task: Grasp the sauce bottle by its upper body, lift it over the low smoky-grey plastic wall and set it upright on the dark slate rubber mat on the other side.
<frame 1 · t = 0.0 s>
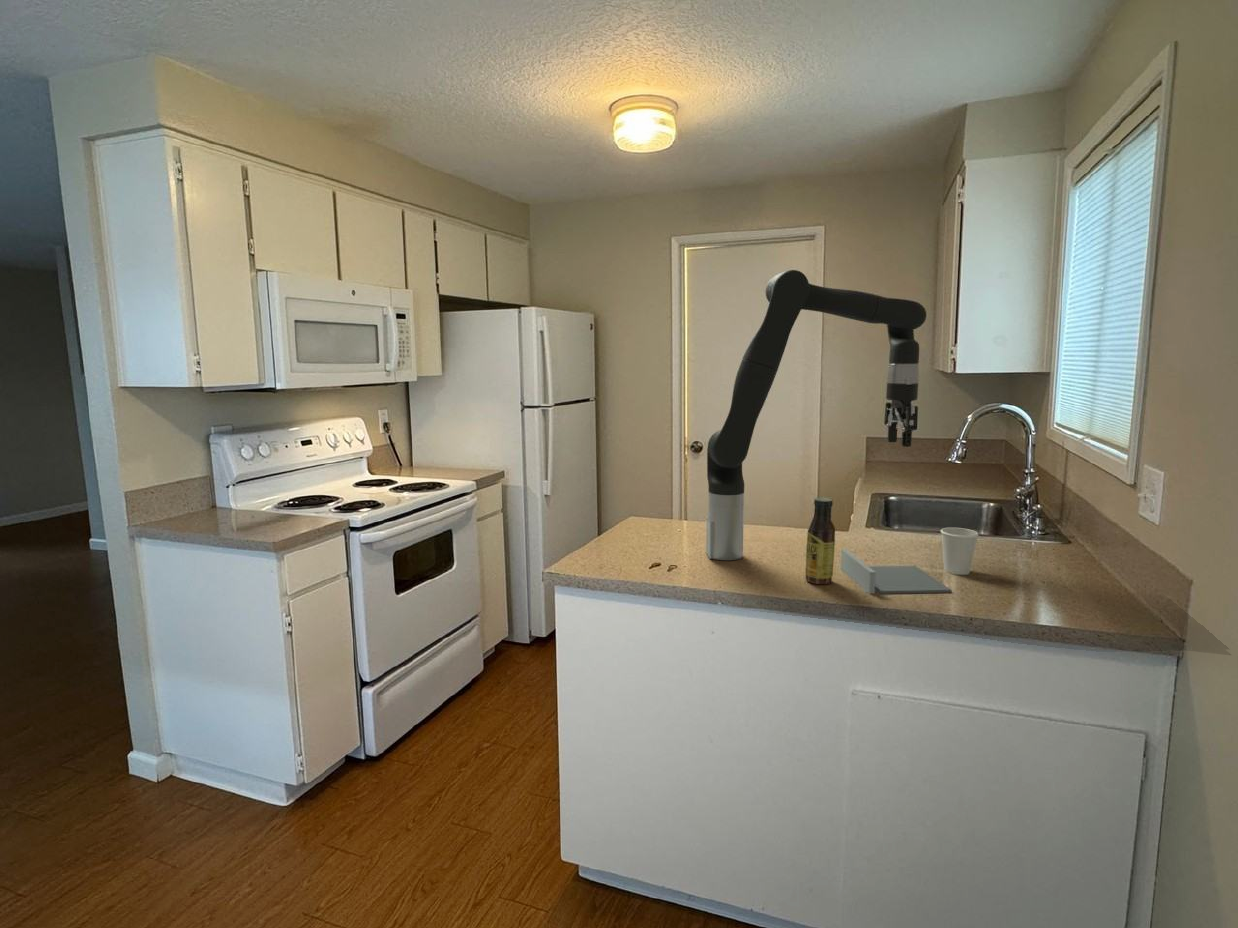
hand: (898, 444, 184), 29 cm above the counter, fingers open, 8 cm apart
dixie cup: (956, 572, 173), on the counter
low wall: (856, 580, 166), on the counter
sauce bottle: (818, 582, 166), on the counter
slate mat: (898, 580, 166), on the counter
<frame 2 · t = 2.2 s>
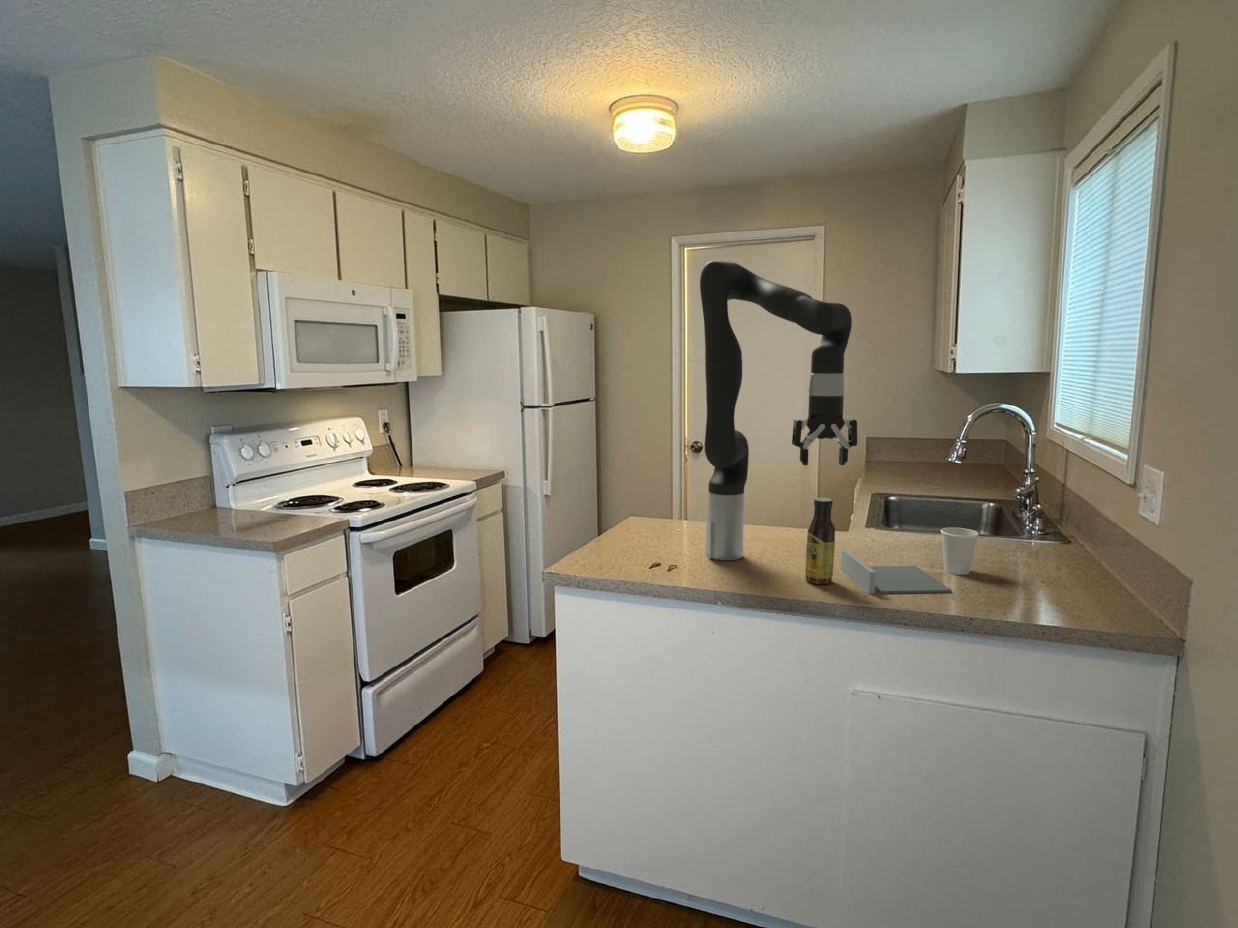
hand: (823, 464, 161), 28 cm above the counter, fingers open, 8 cm apart
nothing on the counter moved.
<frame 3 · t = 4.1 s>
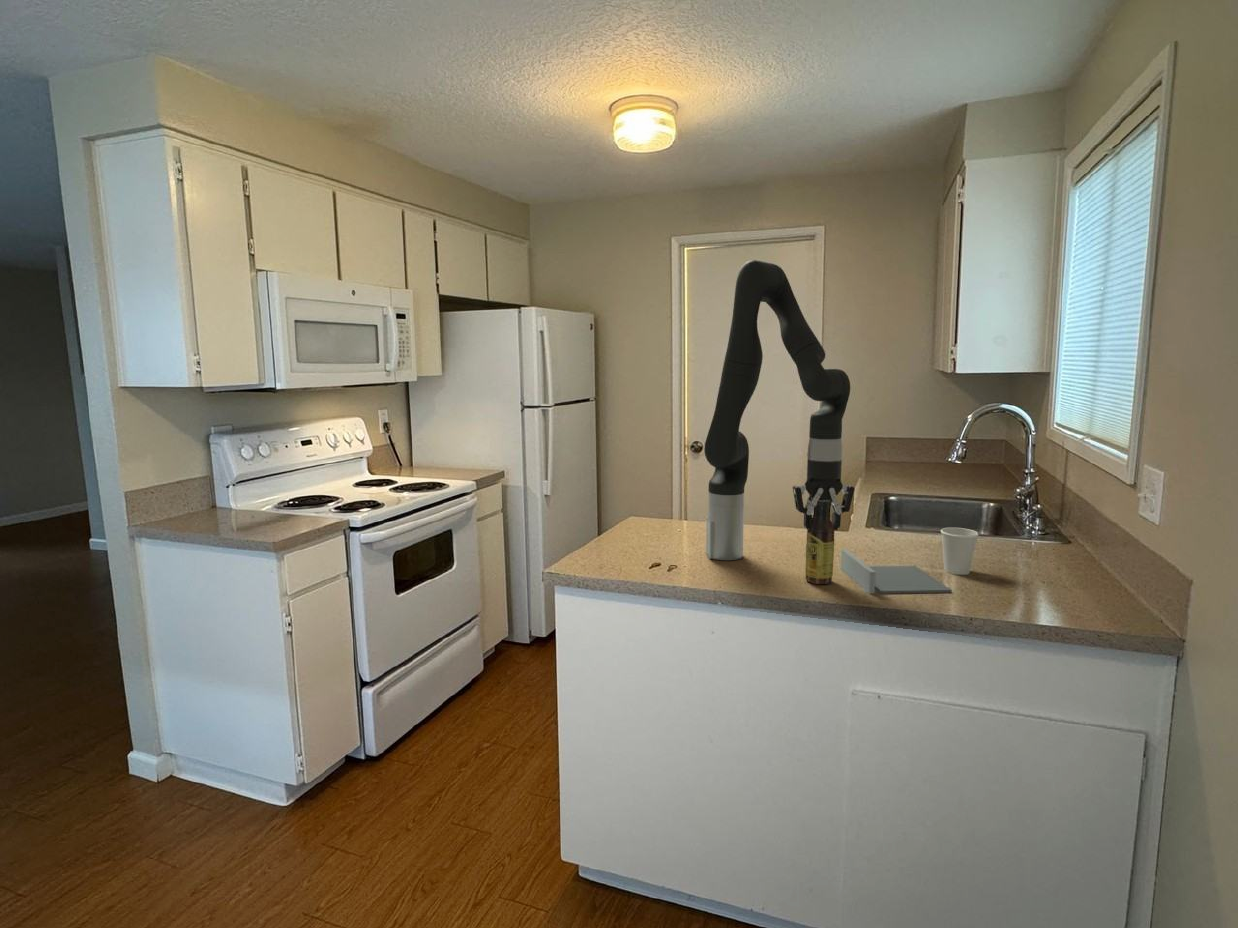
hand: (821, 529, 164), 13 cm above the counter, fingers closed on sauce bottle, 5 cm apart
sauce bottle: (818, 582, 166), on the counter, touching gripper
everything else where it was.
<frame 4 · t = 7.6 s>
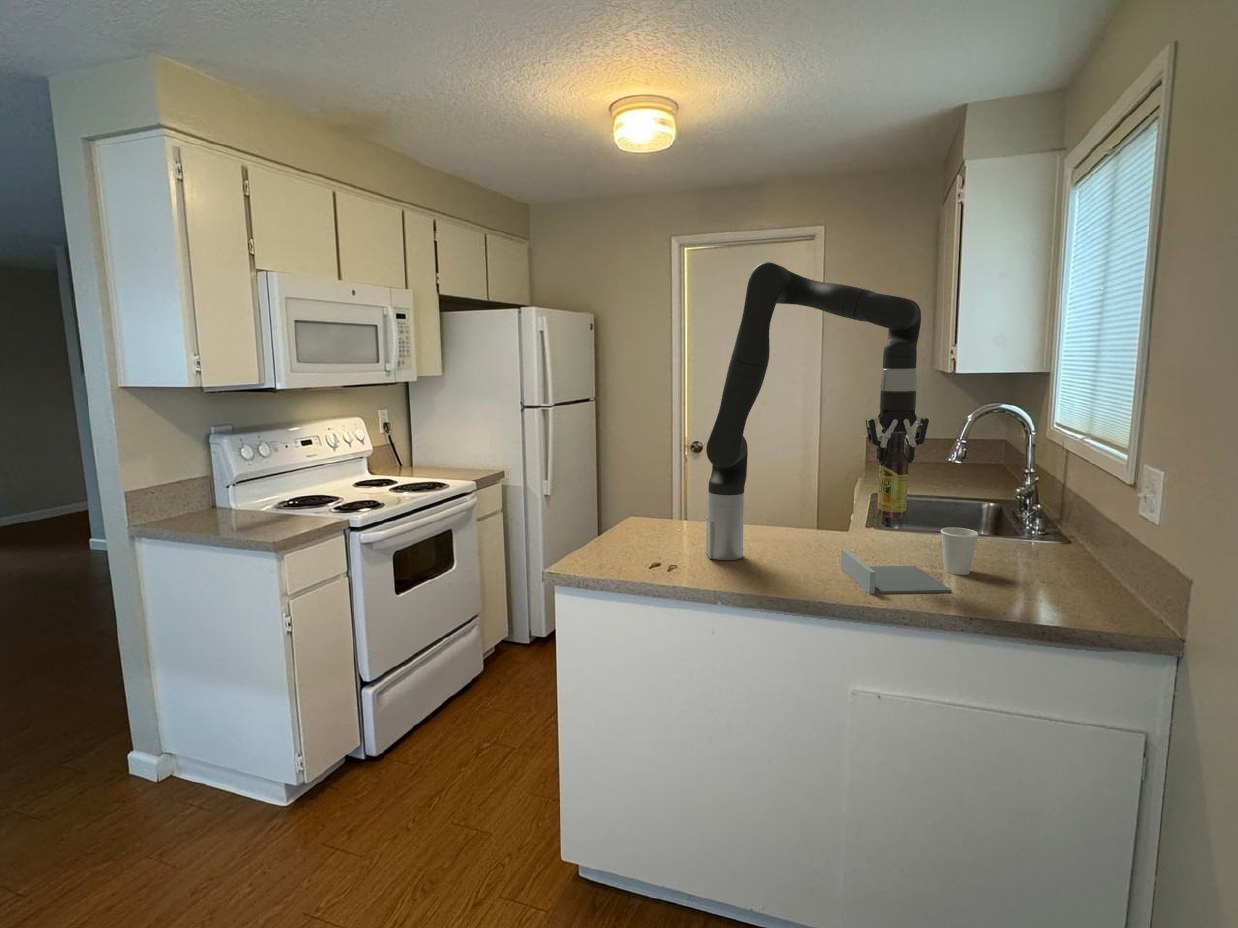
hand: (895, 462, 162), 28 cm above the counter, fingers closed on sauce bottle, 5 cm apart
sauce bottle: (891, 517, 164), point 15 cm above the counter, touching gripper
everything else where it was.
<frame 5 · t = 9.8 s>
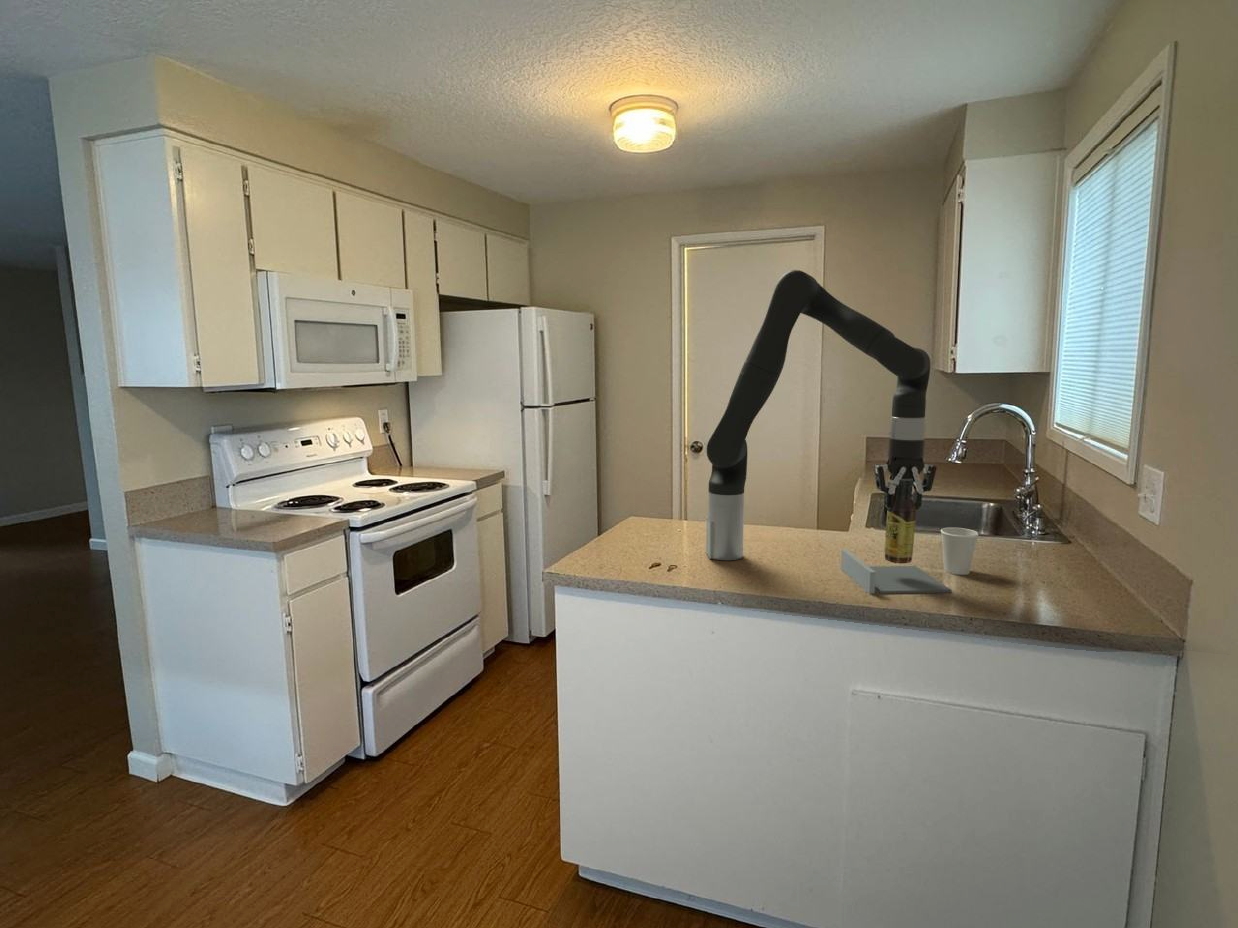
hand: (902, 508, 164), 17 cm above the counter, fingers closed on sauce bottle, 5 cm apart
sauce bottle: (898, 561, 166), point 4 cm above the counter, touching gripper
everything else where it was.
when the fingers open (14 cm above the counter, at t = 11.3 s): sauce bottle drops 1 cm, resting on slate mat.
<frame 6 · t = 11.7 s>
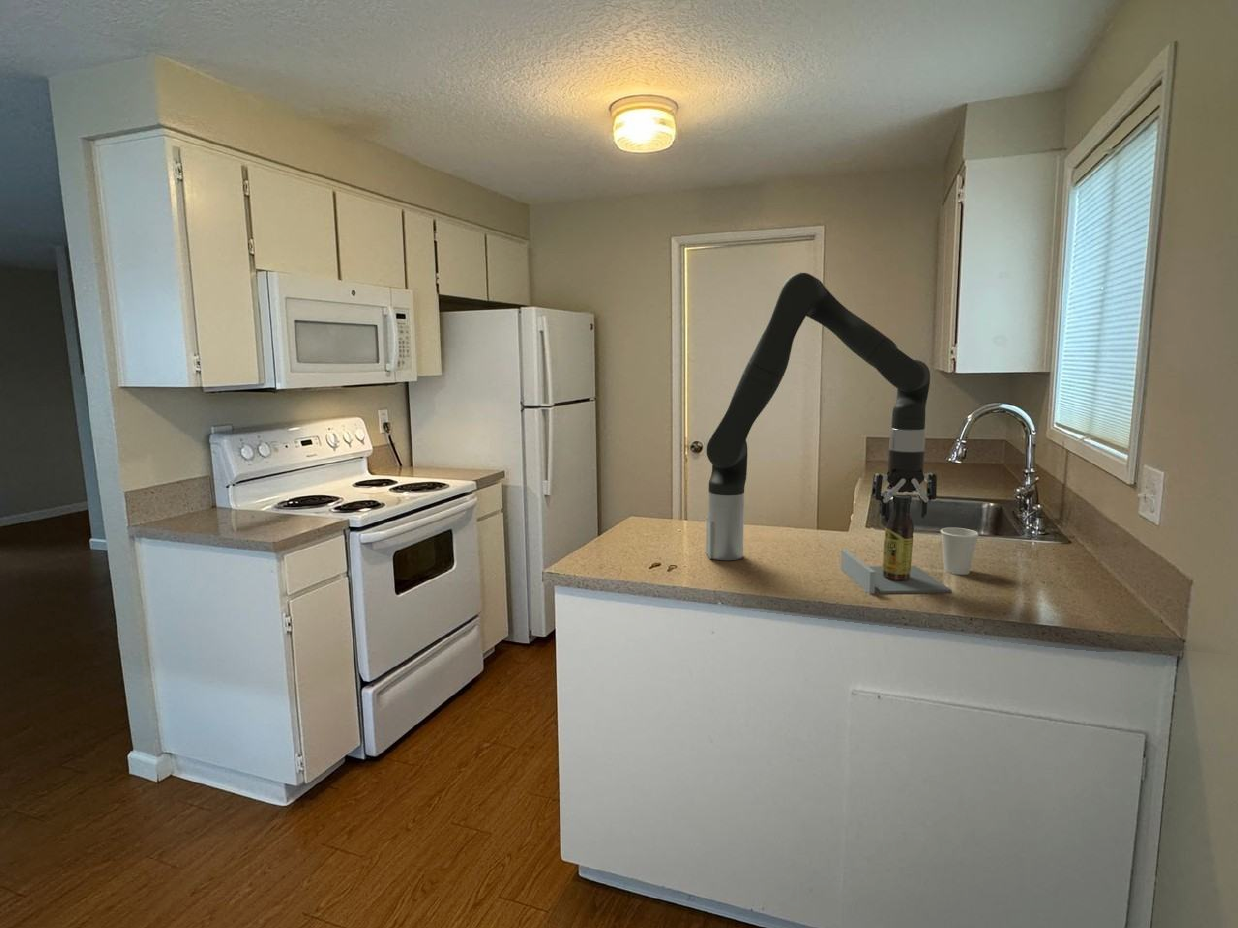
hand: (902, 517, 164), 15 cm above the counter, fingers open, 8 cm apart
sauce bottle: (896, 578, 166), resting on slate mat
everything else where it was.
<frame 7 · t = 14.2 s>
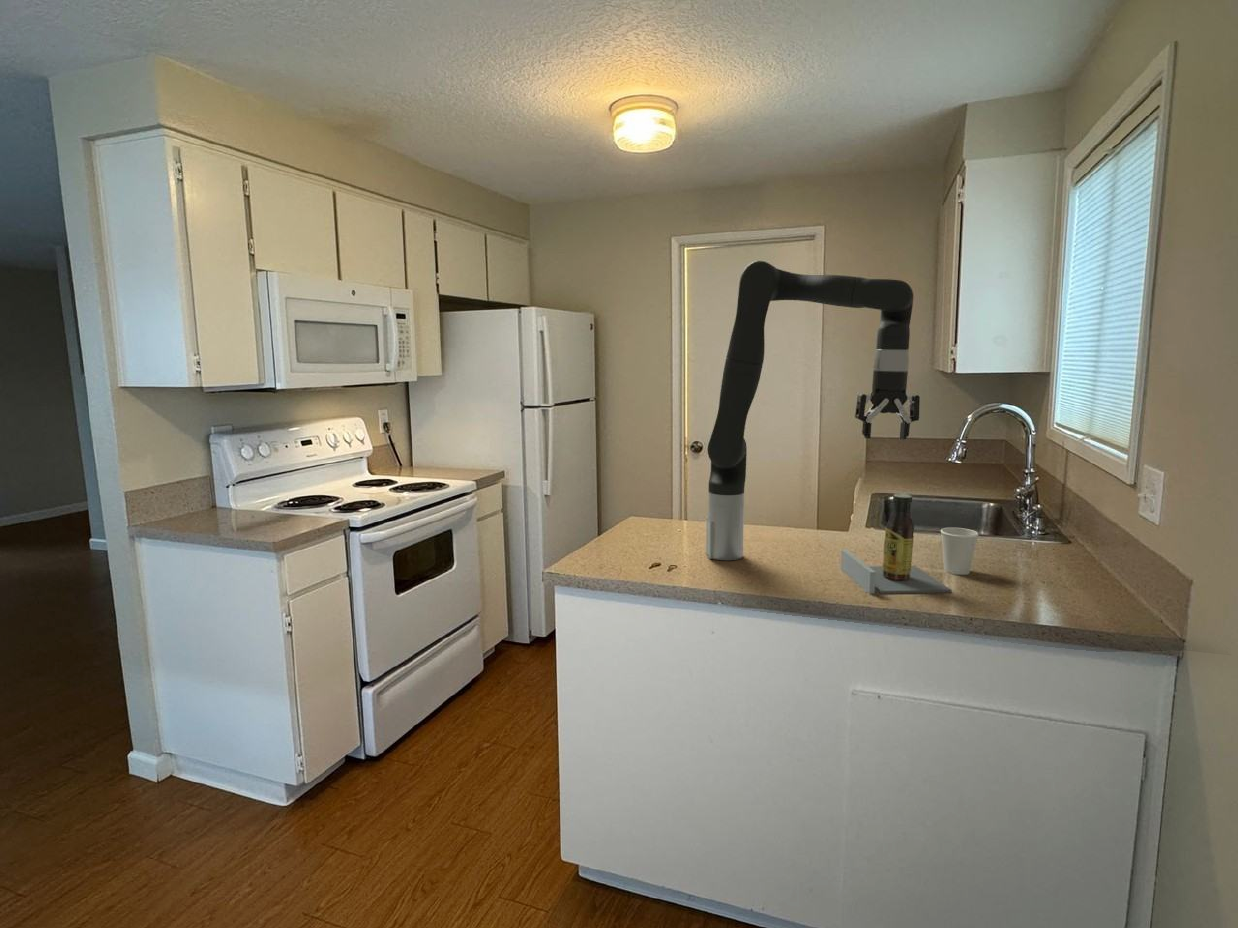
hand: (885, 438, 167), 33 cm above the counter, fingers open, 8 cm apart
nothing on the counter moved.
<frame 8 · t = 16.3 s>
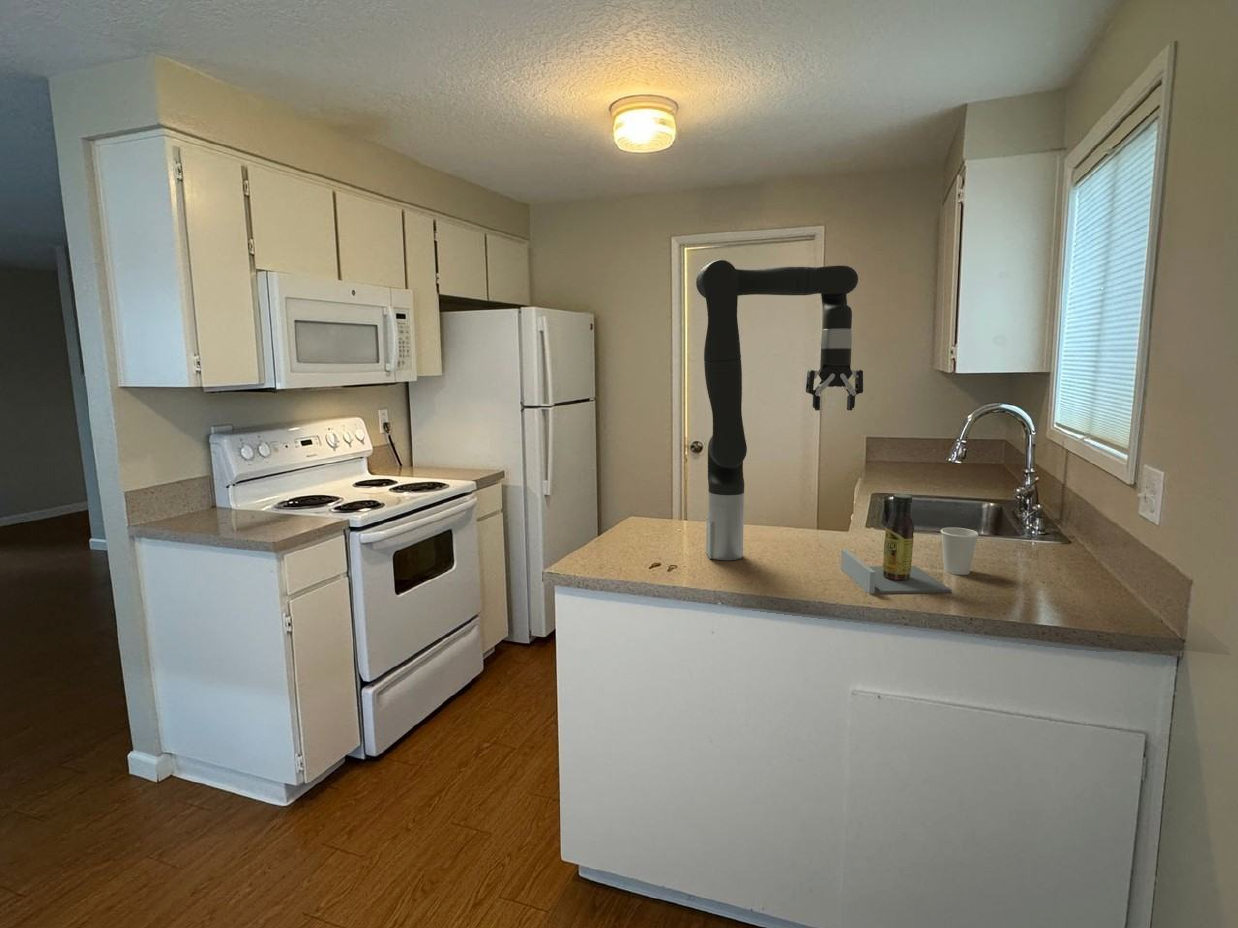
hand: (833, 410, 184), 38 cm above the counter, fingers open, 8 cm apart
nothing on the counter moved.
at the end: sauce bottle inside the target area on the slate mat (0.5 cm from its centre), point 0.4 cm above the slate mat's base; sauce bottle tilted 0°; the gripper is holding nothing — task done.
